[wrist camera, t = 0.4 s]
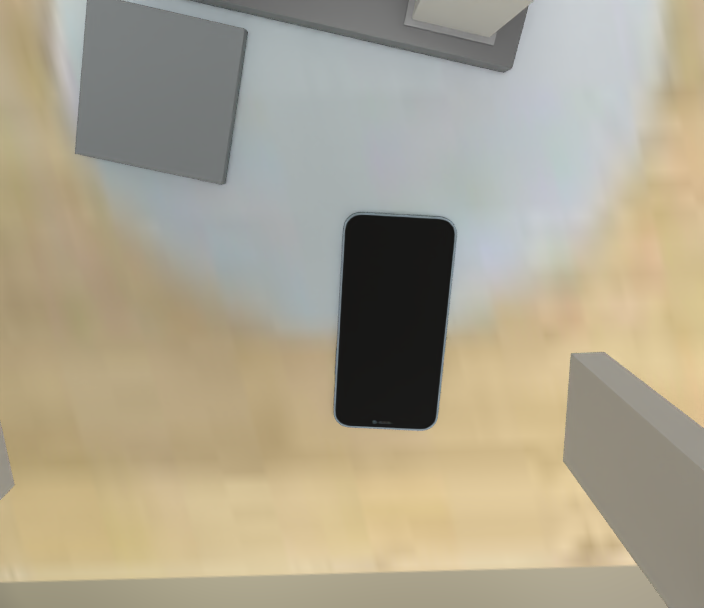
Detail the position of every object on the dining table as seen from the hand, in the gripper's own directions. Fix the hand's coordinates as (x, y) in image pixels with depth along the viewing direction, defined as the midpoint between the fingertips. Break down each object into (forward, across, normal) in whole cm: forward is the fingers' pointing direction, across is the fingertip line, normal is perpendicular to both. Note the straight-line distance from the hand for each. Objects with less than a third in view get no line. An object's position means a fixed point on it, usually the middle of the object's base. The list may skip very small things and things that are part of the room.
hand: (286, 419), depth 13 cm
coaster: (+25, -9, +10) cm, 28 cm away
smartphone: (+25, +5, -6) cm, 26 cm away
